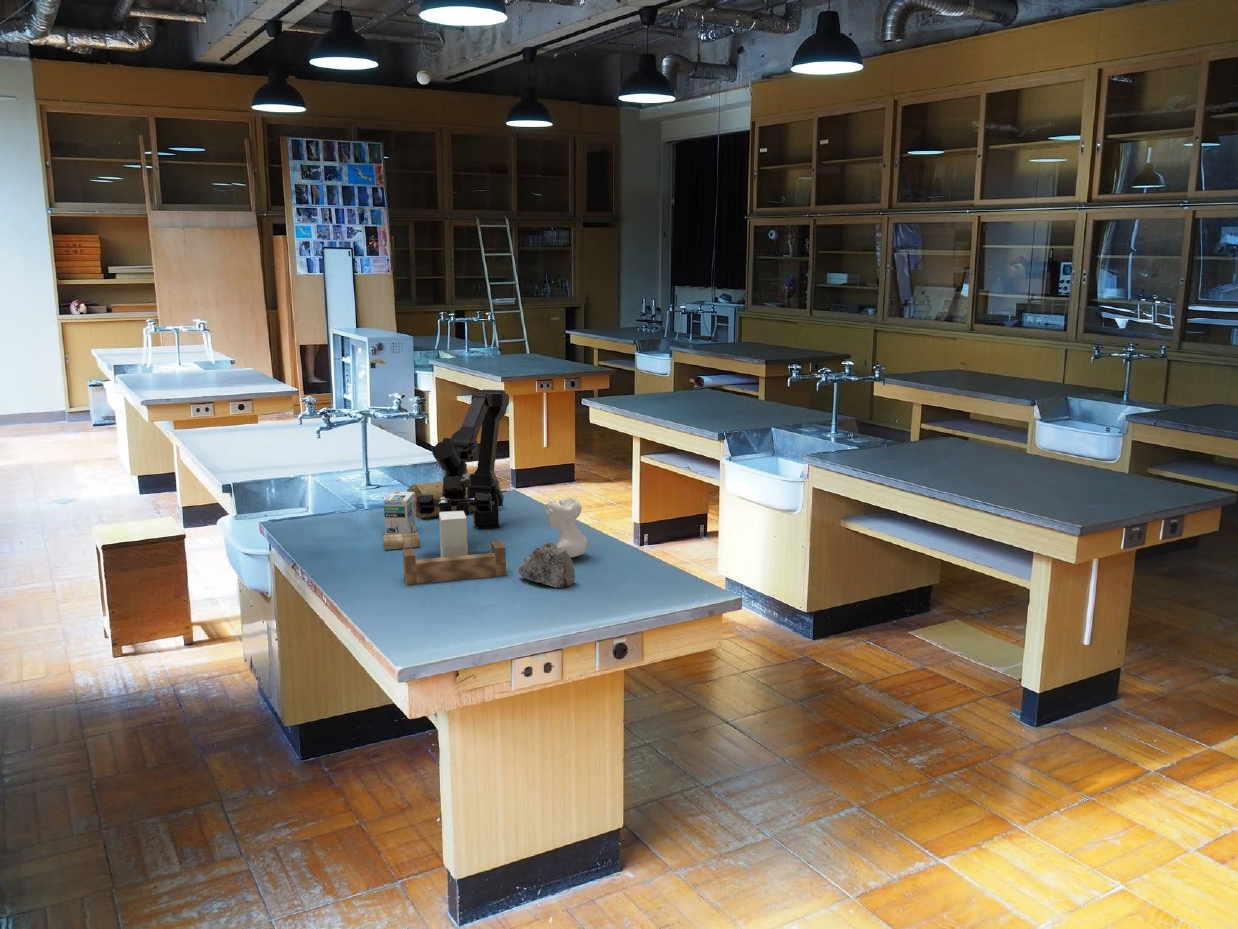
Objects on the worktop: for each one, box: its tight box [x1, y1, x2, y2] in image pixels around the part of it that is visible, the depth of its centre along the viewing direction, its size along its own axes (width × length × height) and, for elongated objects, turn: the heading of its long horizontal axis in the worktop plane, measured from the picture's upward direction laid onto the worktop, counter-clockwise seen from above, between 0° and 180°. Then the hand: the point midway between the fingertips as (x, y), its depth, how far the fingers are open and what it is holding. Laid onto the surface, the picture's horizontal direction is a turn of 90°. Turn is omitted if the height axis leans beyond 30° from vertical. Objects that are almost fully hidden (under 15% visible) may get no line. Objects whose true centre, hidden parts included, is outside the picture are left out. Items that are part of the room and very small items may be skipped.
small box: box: [438, 511, 469, 558], centre depth 257 cm, size 8×6×13 cm
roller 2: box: [383, 535, 421, 551], centre depth 273 cm, size 9×3×3 cm, turn 107°
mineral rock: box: [517, 541, 576, 589], centre depth 244 cm, size 13×11×10 cm
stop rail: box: [402, 540, 507, 586], centre depth 249 cm, size 24×6×7 cm, turn 107°
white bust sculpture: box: [545, 497, 588, 559], centre depth 263 cm, size 10×11×15 cm
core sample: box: [406, 480, 502, 519], centre depth 310 cm, size 14×26×10 cm, turn 120°
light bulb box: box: [383, 491, 418, 535], centre depth 286 cm, size 11×7×11 cm, turn 179°
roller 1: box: [383, 532, 419, 548], centre depth 277 cm, size 9×3×3 cm, turn 107°
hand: (453, 532), depth 261 cm, fingers closed
